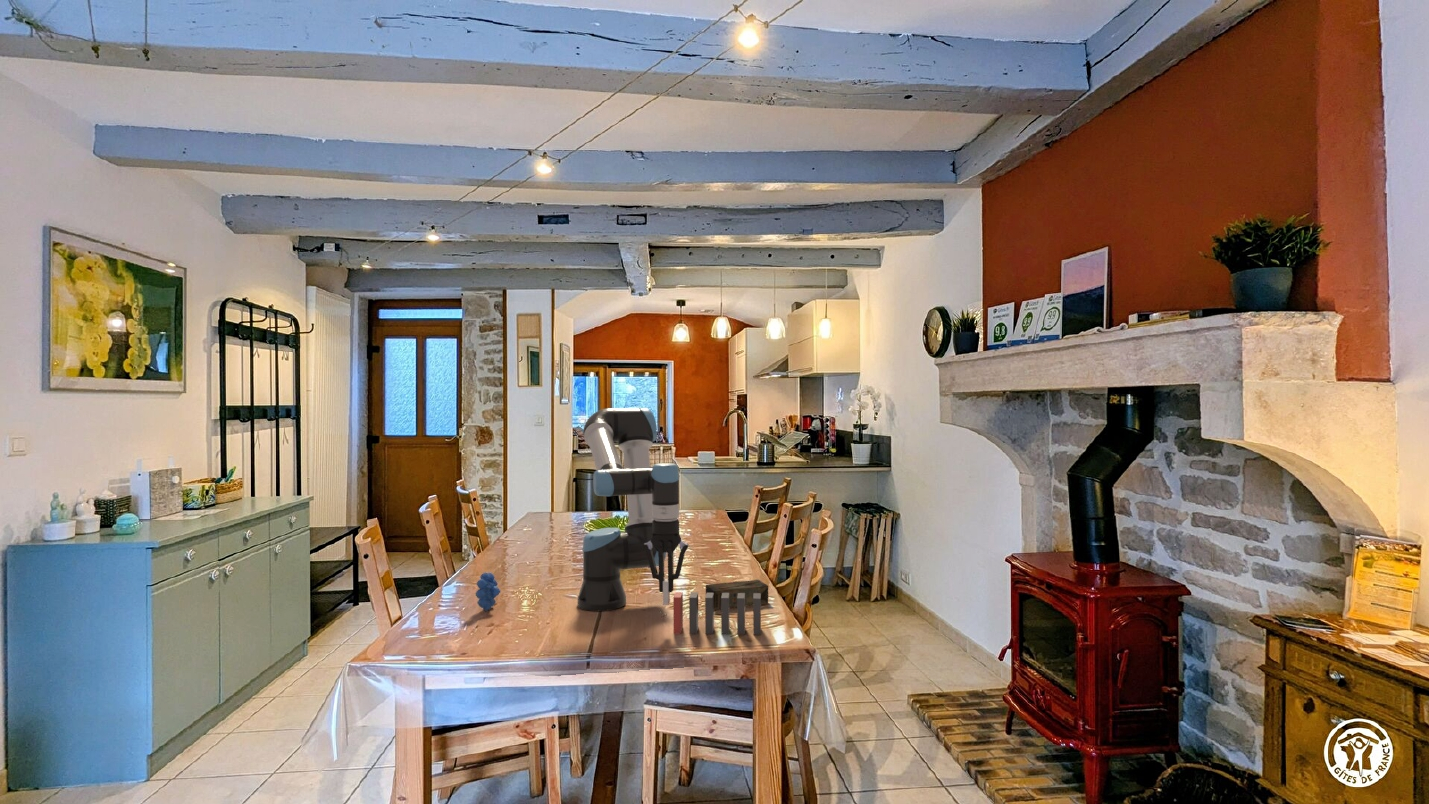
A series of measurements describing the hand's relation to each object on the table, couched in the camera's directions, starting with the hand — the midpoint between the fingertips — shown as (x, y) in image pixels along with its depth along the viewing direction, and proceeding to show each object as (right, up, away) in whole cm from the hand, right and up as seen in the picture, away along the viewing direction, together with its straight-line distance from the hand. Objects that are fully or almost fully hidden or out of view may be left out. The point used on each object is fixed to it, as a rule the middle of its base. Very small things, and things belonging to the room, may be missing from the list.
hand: (666, 603), depth 191 cm
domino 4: (+21, -8, -1) cm, 22 cm away
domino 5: (+25, -8, -1) cm, 26 cm away
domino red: (+3, -8, 0) cm, 8 cm away
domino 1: (+8, -8, 0) cm, 11 cm away
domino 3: (+16, -8, -1) cm, 18 cm away
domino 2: (+12, -8, 0) cm, 14 cm away
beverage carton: (+21, -8, +25) cm, 33 cm away
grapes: (-56, -8, +19) cm, 59 cm away
